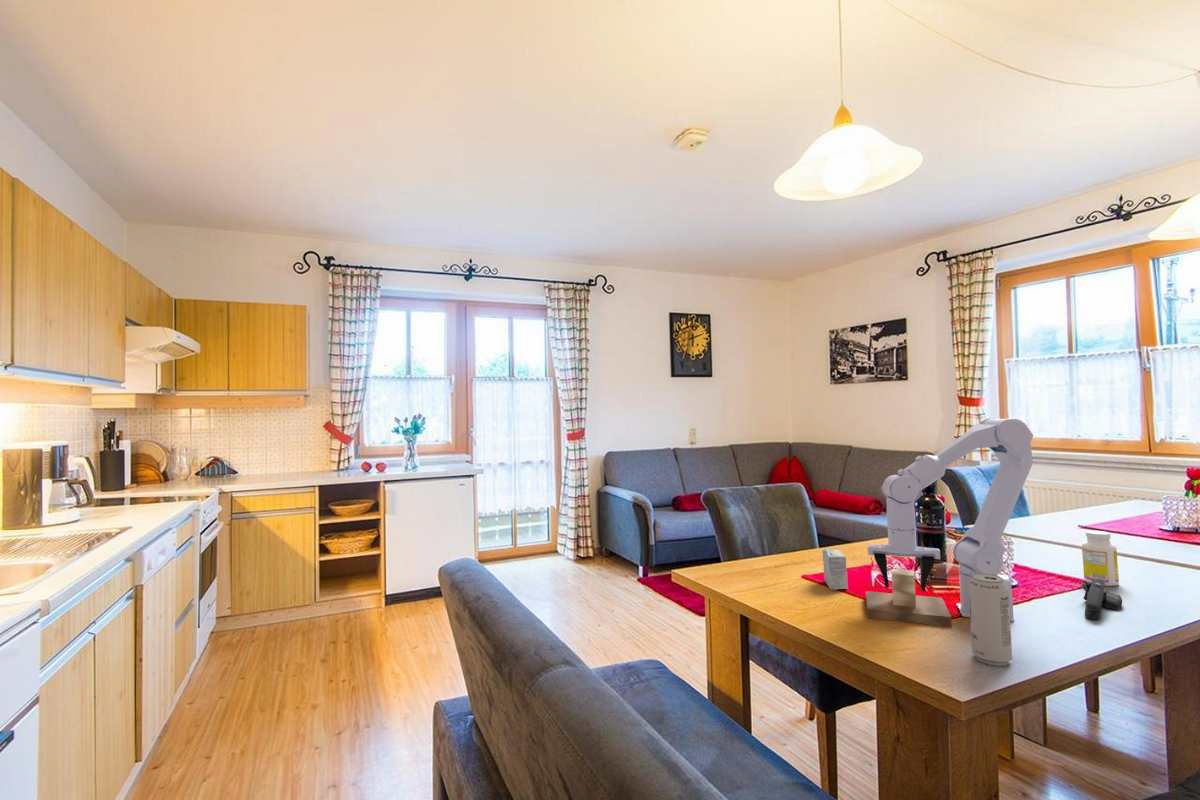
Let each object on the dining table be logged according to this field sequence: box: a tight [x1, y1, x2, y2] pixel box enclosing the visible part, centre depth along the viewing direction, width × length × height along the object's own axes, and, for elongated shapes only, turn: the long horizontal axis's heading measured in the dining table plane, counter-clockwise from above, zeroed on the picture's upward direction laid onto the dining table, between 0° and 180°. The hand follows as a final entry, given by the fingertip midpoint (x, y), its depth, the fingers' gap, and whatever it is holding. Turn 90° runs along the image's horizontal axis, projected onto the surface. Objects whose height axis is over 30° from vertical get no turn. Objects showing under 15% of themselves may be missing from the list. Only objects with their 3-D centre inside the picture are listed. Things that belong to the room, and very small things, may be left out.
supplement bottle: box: [1081, 530, 1120, 587], centre depth 142 cm, size 7×7×13 cm
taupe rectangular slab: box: [865, 591, 953, 627], centre depth 127 cm, size 16×13×2 cm
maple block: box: [891, 568, 917, 608], centre depth 127 cm, size 4×4×7 cm
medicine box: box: [822, 549, 849, 591], centre depth 148 cm, size 8×4×9 cm, turn 168°
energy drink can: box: [968, 574, 1013, 667], centre depth 102 cm, size 6×6×15 cm
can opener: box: [1080, 579, 1123, 621], centre depth 124 cm, size 18×7×6 cm, turn 131°
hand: (904, 588), depth 127 cm, fingers open, 7 cm apart
